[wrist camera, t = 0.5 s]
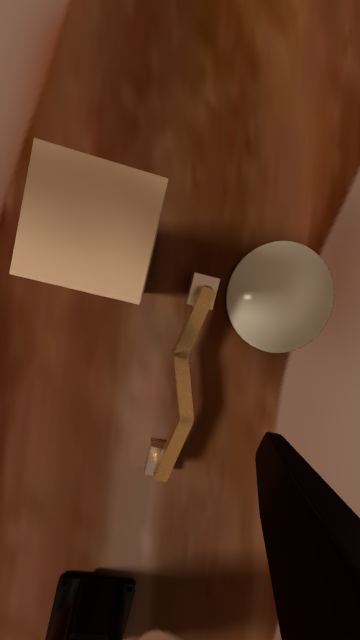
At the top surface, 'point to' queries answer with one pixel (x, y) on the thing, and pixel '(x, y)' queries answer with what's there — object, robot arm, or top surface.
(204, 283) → the zigzag wooden handle
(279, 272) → the coaster
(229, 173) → the top surface
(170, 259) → the top surface
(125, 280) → the maple peg
